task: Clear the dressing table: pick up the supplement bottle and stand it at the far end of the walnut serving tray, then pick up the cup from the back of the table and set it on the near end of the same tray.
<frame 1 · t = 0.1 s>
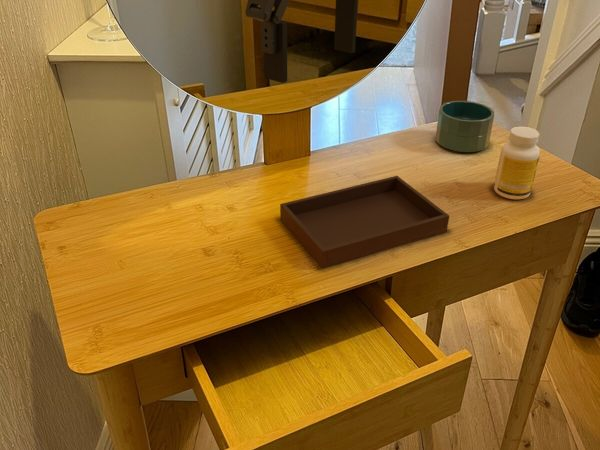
hand: (312, 64, 75), 22 cm above the table, tool pointing down, fingers open, 13 cm apart
supplement bottle: (511, 192, 95), on the table
tray: (362, 225, 86), on the table
cup: (461, 143, 109), on the table
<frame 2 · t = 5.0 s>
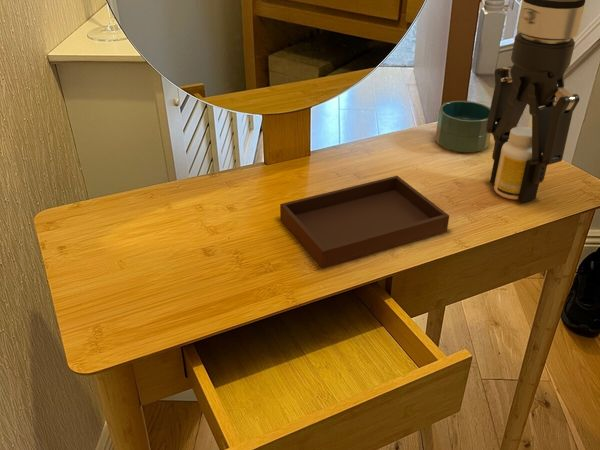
hand: (512, 189, 94), 0 cm above the table, tool pointing down, fingers closed on supplement bottle, 5 cm apart
supplement bottle: (511, 192, 95), on the table, touching gripper
everything else where it was.
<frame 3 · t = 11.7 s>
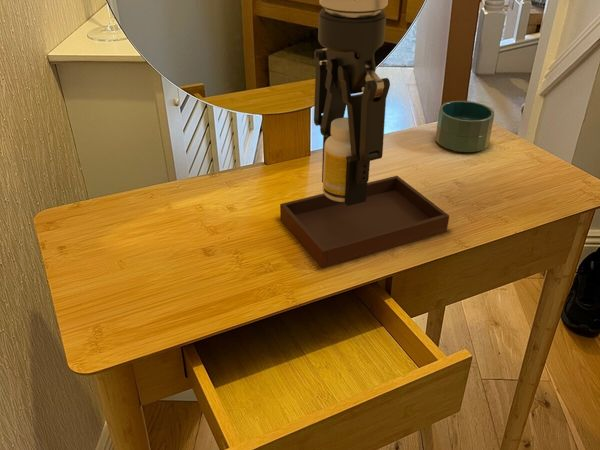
hand: (343, 191, 82), 6 cm above the table, tool pointing down, fingers closed on supplement bottle, 5 cm apart
supplement bottle: (343, 194, 82), point 6 cm above the table, touching gripper
everything else where it was.
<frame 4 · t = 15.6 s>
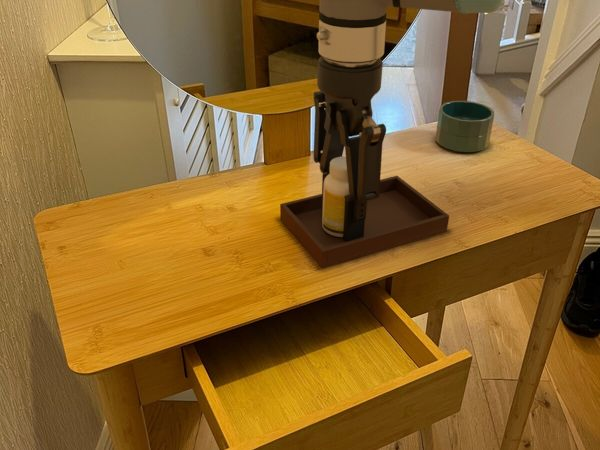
hand: (342, 225, 84), 1 cm above the table, tool pointing down, fingers closed on supplement bottle, 5 cm apart
supplement bottle: (341, 228, 85), resting on tray, touching gripper
everything else where it was.
when the fingers open (2 cm above the table, at t = 18.5 s): supplement bottle drops 1 cm, resting on tray.
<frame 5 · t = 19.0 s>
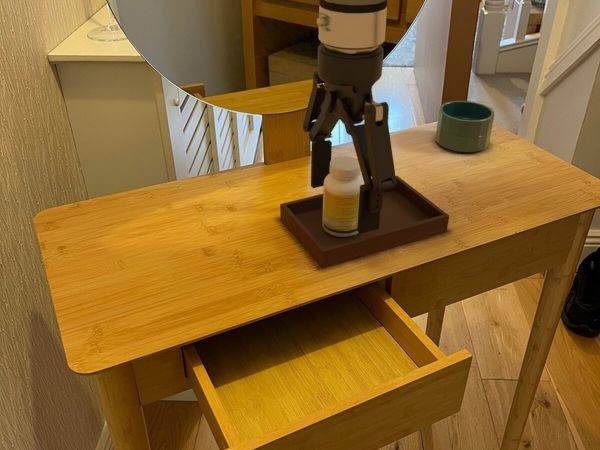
hand: (342, 206, 83), 4 cm above the table, tool pointing down, fingers open, 12 cm apart
supplement bottle: (342, 228, 85), resting on tray
everything else where it was.
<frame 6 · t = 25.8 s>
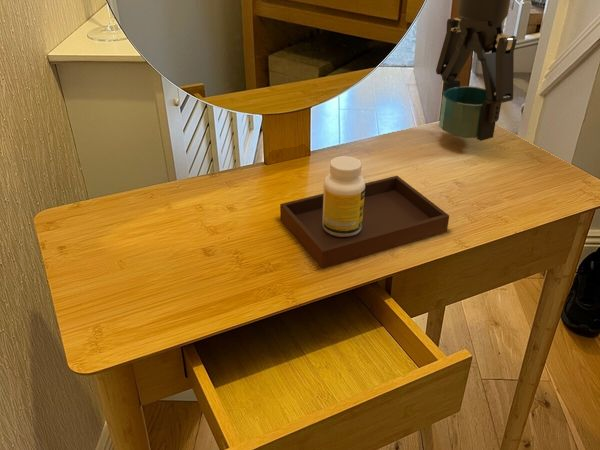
hand: (465, 127, 107), 3 cm above the table, tool pointing down, fingers closed on cup, 9 cm apart
cup: (465, 129, 107), point 3 cm above the table, touching gripper
everything else where it was.
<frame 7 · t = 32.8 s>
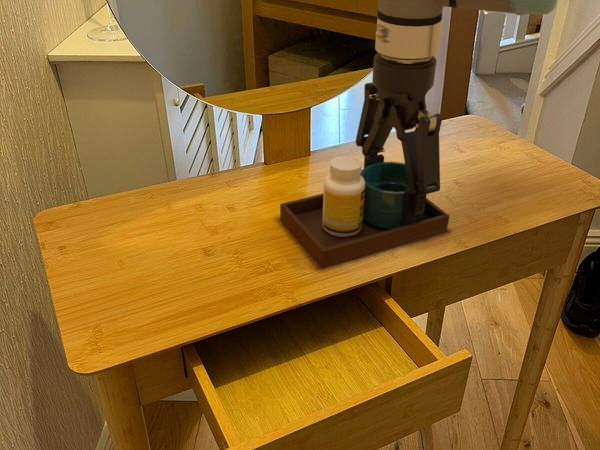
hand: (390, 213, 87), 1 cm above the table, tool pointing down, fingers closed on cup, 9 cm apart
cup: (390, 214, 88), point 1 cm above the table, touching gripper
everything else where it was.
when the fingers open (1 cm above the table, at t = 34.5 s): cup stays where it is, resting on tray.
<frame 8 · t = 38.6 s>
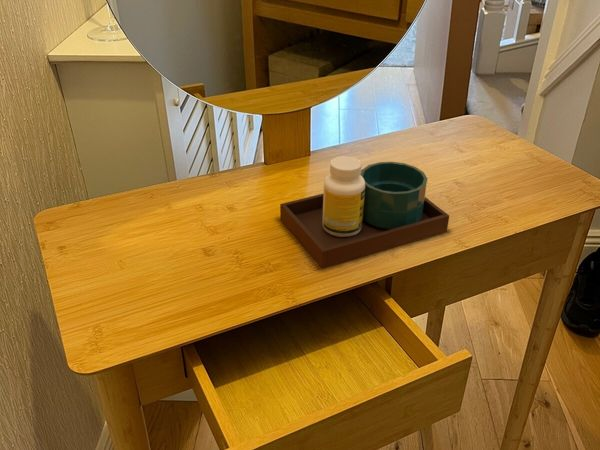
cup: (389, 214, 88), point 1 cm above the table, touching tray
everything else where it was.
at the end: cup inside the target area in the tray (4.4 cm from its centre), point 0.6 cm above the tray's base; supplement bottle inside the target area in the tray (3.2 cm from its centre), point 0.4 cm above the tray's base; supplement bottle tilted 0° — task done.
